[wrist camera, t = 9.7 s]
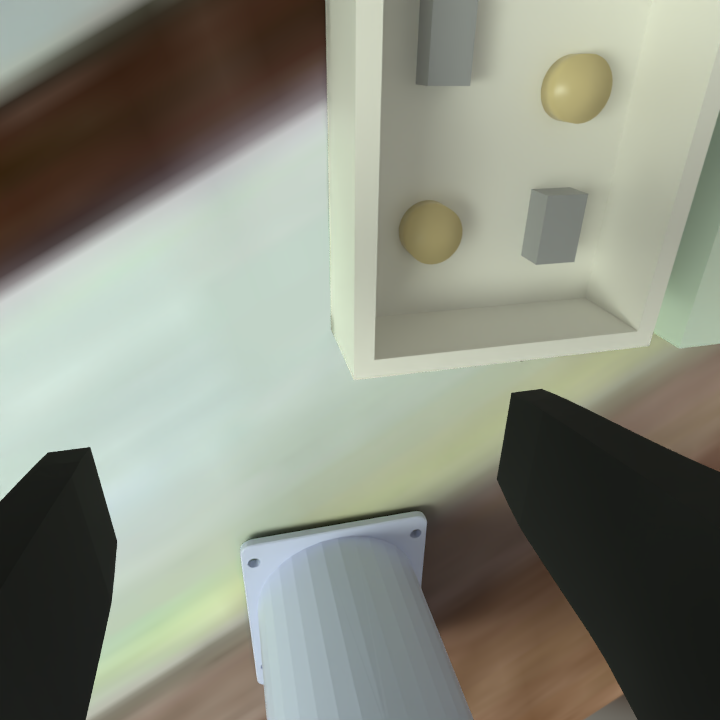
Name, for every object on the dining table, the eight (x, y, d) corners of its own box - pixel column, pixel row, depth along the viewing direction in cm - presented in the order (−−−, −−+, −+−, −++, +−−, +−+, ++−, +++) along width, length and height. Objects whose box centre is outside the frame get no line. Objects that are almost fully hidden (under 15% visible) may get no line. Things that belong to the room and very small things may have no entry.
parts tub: (586, 305, 21) (649, 346, 18) (331, 329, 19) (353, 380, 16) (677, -93, 15) (790, -130, 12) (323, -122, 13) (356, -175, 10)
